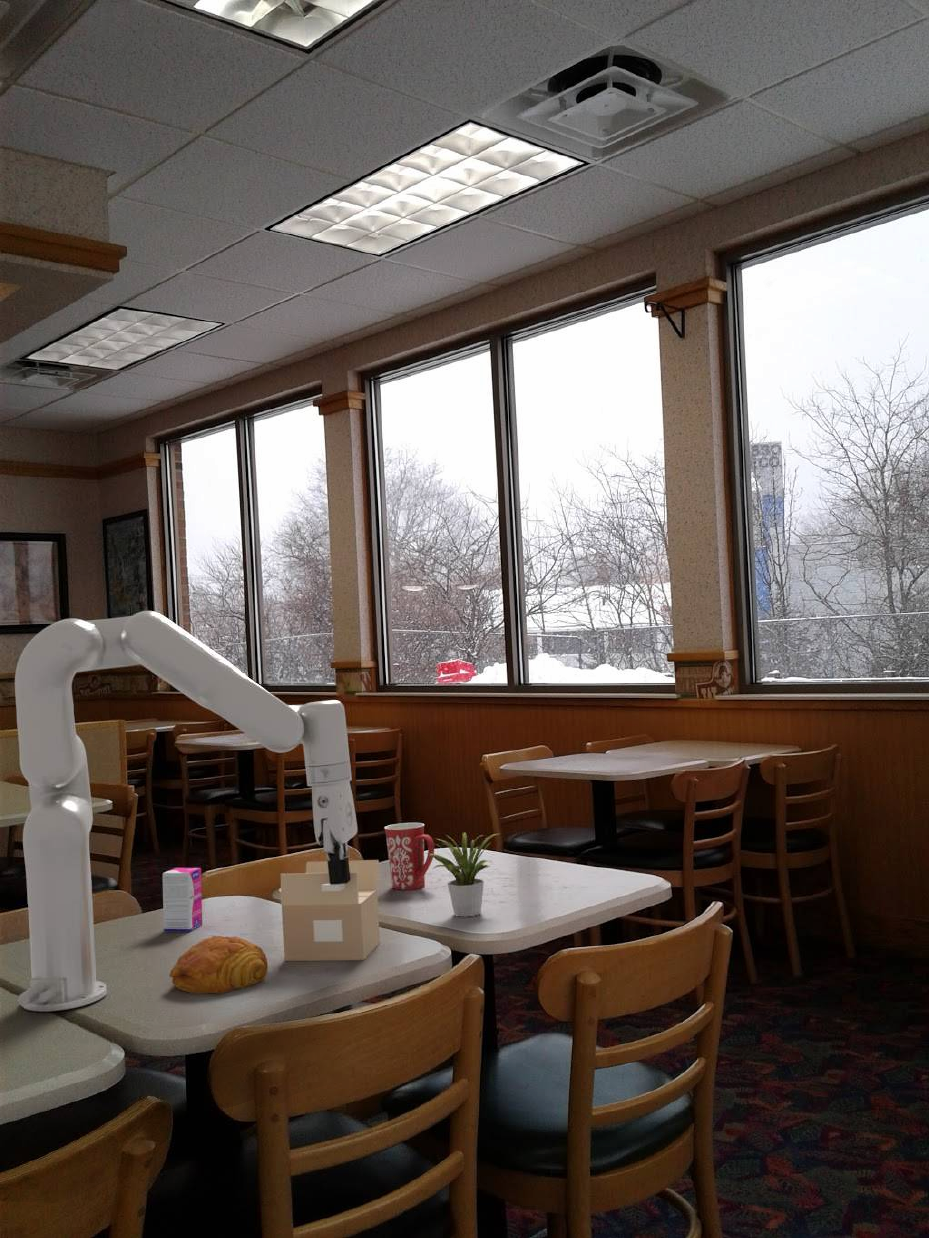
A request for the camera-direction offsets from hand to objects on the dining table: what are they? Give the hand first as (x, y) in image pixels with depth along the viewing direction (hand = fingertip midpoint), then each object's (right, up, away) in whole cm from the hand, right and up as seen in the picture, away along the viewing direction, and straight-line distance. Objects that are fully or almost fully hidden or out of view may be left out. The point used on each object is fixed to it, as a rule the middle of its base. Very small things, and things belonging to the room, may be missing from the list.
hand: (340, 882), depth 184 cm
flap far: (-2, -2, +15) cm, 15 cm away
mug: (+10, -15, +57) cm, 60 cm away
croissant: (-19, -15, -7) cm, 25 cm away
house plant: (+22, -13, +31) cm, 40 cm away
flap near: (-4, -2, +2) cm, 5 cm away
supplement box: (-34, -17, +31) cm, 50 cm away
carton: (-2, -14, +8) cm, 16 cm away
